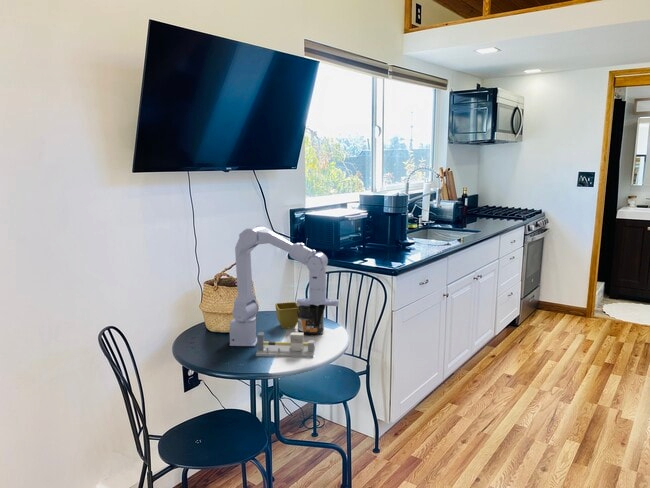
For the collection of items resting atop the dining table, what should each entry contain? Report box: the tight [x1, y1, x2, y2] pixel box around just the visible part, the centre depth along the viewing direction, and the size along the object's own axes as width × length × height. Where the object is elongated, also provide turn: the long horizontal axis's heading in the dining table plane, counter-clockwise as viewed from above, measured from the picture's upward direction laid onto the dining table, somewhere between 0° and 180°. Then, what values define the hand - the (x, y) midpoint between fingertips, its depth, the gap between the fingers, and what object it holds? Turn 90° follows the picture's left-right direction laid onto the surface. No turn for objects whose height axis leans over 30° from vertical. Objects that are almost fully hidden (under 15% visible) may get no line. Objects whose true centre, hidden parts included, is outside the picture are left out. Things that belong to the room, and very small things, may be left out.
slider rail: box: [255, 331, 316, 358], centre depth 175 cm, size 20×9×6 cm, turn 87°
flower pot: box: [275, 301, 299, 329], centre depth 201 cm, size 9×9×9 cm
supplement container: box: [297, 305, 325, 337], centre depth 194 cm, size 10×10×12 cm
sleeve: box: [289, 331, 305, 351], centre depth 174 cm, size 4×3×6 cm
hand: (317, 325), depth 173 cm, fingers closed
